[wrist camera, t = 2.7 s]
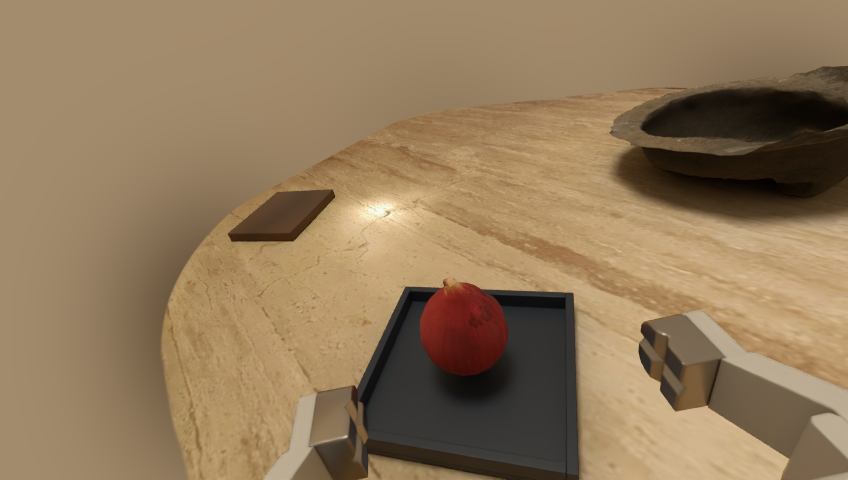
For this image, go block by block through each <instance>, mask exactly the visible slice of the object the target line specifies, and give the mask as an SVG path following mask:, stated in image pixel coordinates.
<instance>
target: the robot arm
mask: <svg viewBox="0 0 848 480" xmlns="http://www.w3.org/2000/svg"><path fill="white" fill-rule="evenodd" d="M641 333H642V334H643V336H644V338H643V340H642V341H641V342H640V343H639V356H640V360H641V363H642V365H643V367H644V369H645V370H646V372H647V373H648V375H649V376H650V377H651V378H653V379H655V380H657V381H659V382H661V385H660V391H661V393H662V394H663V395H664V397H665V398H666V399H667V401H668V402H669V403H670V405H671V406H672V408H673V409H674V410H675V412H676V411H681V410H687V409H692V408H698V407H703V406H708V408H710V409H711V410H713V411H715V412H716V413H718V414H719V415H721V416H722V417H724V418H726V419H727V420H729V421H730V422H732V423H733V424H735V425H737V426H738V427H740V428H741V429H743V430H745V431H746V432H748V433H749V434H751V435H752V436H754V437H756V438H757V439H759V440H760V441H762V442H764V443H765V444H767V445H768V446H770V447H771V448H773V449H775V450H776V451H778V452H779V453H781V454H782V455H784V456H786V457H787V458H789V461H788V463H787V465H786V467H785V469H784V471H783V473H782V478H781V480H848V390H846V389H844V388H841V387H839V386H836V385H834V384H831V383H829V382H826V381H824V380H822V379H819V378H817V377H814V376H812V375H809V374H807V373H804V372H802V371H799V370H797V369H795V368H792V367H790V366H787V365H785V364H782V363H780V362H777V361H775V360H772V359H770V358H768V357H765V356H763V355H760V354H758V353H755V352H750V353H748V352H746V351H745V350H744V349H743V348H742V347H741V346H740V345H739V344H738V343H737V342H736V341H735V340H734V339H733V338H732V337H731V336H729V335H728V334H727V333H726V332H725V331H724V330H723V329H722V328H721V327H720V326H719V325H718V324H717V323H716V322H715V321H714V320H713V319H711V318H710V317H709V316H708V315H707V314H706V313H705V312H704V311H701V310H695V311H690V312H686V313H681V314H675V315H671V316H667V317H662V318H658V319H654V320H649V321H645V322H644V323H643V324H642V325H641ZM368 437H369V427H368V419H367V414H366V410H365V407H364V405H363V403H362V402H360V401H358V391H357V389H356V387H355V386H348V387H343V388H337V389H332V390H327V391H322V392H317V393H312V394H307V395H302V396H301V397H300V398H299V400H298V402H297V408H296V413H295V418H294V423H293V428H292V433H291V438H290V443H289V448H288V452H286V453H282V455H281V456H280V457H279V458H278V460H277V461H276V462H275V464H274V465H273V466H272V468H271V469H270V470H269V471H268V473H267V474H266V475H265V477H264V478H263V479H262V480H359V479H363V478H367V477H368V451H367V449H366V447H365V445H364V444H365V442H366V441H367V439H368Z"/></svg>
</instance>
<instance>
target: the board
mask: <svg viewBox="0 0 848 480" xmlns="http://www.w3.org/2000/svg"><path fill="white" fill-rule="evenodd" d="M334 197H335V194H334V192H333V189H331V190H311V191H291V192H277V193H276V194H275V195H273V196H272V197H271V198H270V199H269V200H267V201H266V202H265V203H264V204H263V205H261V206H260V207H259V208H258V209H257V210H255V211H254V212H253V213H252V214H251V215H249V216H248V217H247V218H246V219H245V220H243V221H242V222H241V223H240V224H239V225H237V226H236V227H235V228H234V229H233V230H231V231H230V232H229V233H228V235H229V237H230V239H231V241H293V240H294V239H295V238H296V237H297V236H298V235H299V234H300V233H301V232H302V231H303V230H304V229H305V228H306V227H307V226H308V225H309V224H310V222H311V221H312V220H313V219H314V218H315V217H316V216H317V215H318V214H319V213H320V212H321V211H322V210H323V209H324V208H325V207H326V205H327V204H328V203H329V202H330V201H331V200H332V199H333V198H334Z"/></svg>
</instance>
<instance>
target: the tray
mask: <svg viewBox="0 0 848 480" xmlns="http://www.w3.org/2000/svg"><path fill="white" fill-rule="evenodd" d="M439 289H441V288H431V287H405V289H404V291H403V293H402V295H401V297H400V299H399V301H398V304H397V306H396V308H395V310H394V312H393V314H392V316H391V318H390V320H389V322H388V325H387V327H386V329H385V331H384V333H383V335H382V337H381V339H380V341H379V344H378V346H377V348H376V350H375V352H374V354H373V356H372V358H371V360H370V363H369V365H368V367H367V369H366V371H365V373H364V375H363V377H362V379H361V381H360V384H359V386H358V388H357V391H358V401H360V402H362V403H363V405H364V407H365V410H366V414H367V419H368V427H369V437H368V439H367V441H366V442H365V444H364V445H365V447H366V449H367V451H368V453H373V454H378V455H384V456H389V457H394V458H400V459H405V460H410V461H415V462H421V463H426V464H431V465H437V466H442V467H447V468H453V469H458V470H463V471H469V472H474V473H479V474H485V475H490V476H495V477H500V478H506V479H511V480H579V463H578V429H577V395H576V361H575V327H574V294H573V293H563V292H536V291H510V290H484V289H482V290H483V291H485V292H487V293H488V294H490V295H491V296H493V297H494V298H495V299H496V300H497V301H498V303H499V304H500V306H501V307H502V310H503V314H504V317H505V320H506V324H507V327H508V340H507V343H506V346H505V349H504V351H503V353H502V355H501V356H500V358H499V359H498V360H497V361H496V362H495V363H494V364H493V365H492V366H491V367H490V368H489V369H488V370H486V371H483V372H481V373H479V374H477V375H469V376H460V375H456V374H452V373H449V372H447V371H445V370H444V369H442V368H441V367H439V366H438V365H436V364H435V363H433V362H432V361H431V359H430V357H429V356H428V354H427V353H426V351H425V349H424V347H423V345H422V343H421V333H420V320H421V316H422V313H423V311H424V309H425V306H426V304H427V302H428V301H429V299H430V298H431V297H432V296H433V295H434V294H435V293H436V292H437V291H438V290H439Z"/></svg>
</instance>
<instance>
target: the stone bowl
mask: <svg viewBox="0 0 848 480" xmlns="http://www.w3.org/2000/svg"><path fill="white" fill-rule="evenodd" d="M613 124H614V125H613V126H614V127H611V129H612V130H611V132H610V134H611V135H612V136H614V137H616V138H619V139H623V140H626V141H629V142H630V143H631V145H635V146H641V147H642V149H643V151H644V153H645V155H646V157H647V158H648V160H649V161H650V162H651V163H652V164H653V165H654V166H655V167H657V168H660V169H665V170H669V171H673V172H679V173H683V174H685V175H696V176H699V177H701V178H705V177H711V178H723V179H727V178H733V179H740V180H757V179H764V178H771V179H773V180H775V181H776V184H777V186H778V187H779V188H780V190H781V191H782V192H783V193H784V194H792V195H796V196H800V197H809V196H814V195H816V194H819V193H821V192H822V191H824V190H825V189H827V188H829V187H830V186H832V185H833V184H835V183H837V182H839V181H841V180H843V179H844V178H845V177H846V176H848V66H840V67H821V68H818V69H816V70H813V71H810V72H807V73H797V74H794V75H793V76H791V77H789V78H782V79H781V78H758V79H753V80H747V81H735V82H729V83H721V84H714V85H709V86H706V87H699V88H695V89H688V90H684V91H680V92H674V93H670V94H666V95H664V96H662V97H660V98H655V99H653V100H650V101H647V102H645V103H643V104H642V105H639V106H636V107H634V108H633V109H632V110H629V111H627V112H625V113H624V114H622V115H620V116H618V117H617V118H616V119H614V122H613Z"/></svg>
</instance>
